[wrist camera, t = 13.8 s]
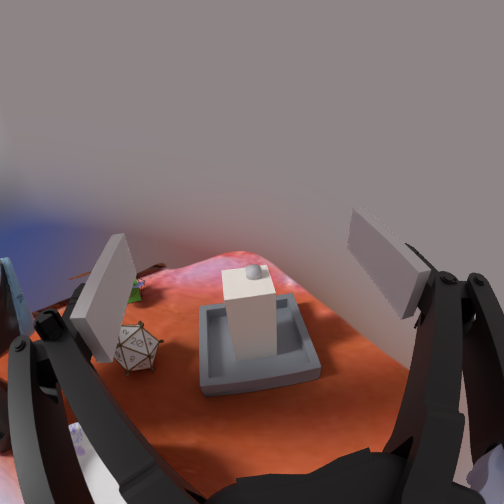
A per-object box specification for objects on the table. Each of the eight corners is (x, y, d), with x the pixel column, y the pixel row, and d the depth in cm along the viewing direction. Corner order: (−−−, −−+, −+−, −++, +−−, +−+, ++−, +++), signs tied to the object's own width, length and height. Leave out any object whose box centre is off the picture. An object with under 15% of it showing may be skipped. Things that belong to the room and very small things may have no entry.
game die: (158, 368, 42) (178, 325, 40) (141, 398, 33) (161, 353, 32) (114, 342, 41) (129, 296, 40) (90, 367, 33) (102, 317, 31)
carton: (235, 361, 37) (223, 293, 31) (232, 332, 43) (220, 264, 36) (276, 355, 38) (275, 286, 31) (269, 326, 43) (266, 258, 36)
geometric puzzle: (118, 278, 55) (104, 266, 48) (146, 273, 56) (136, 259, 49) (121, 310, 53) (107, 301, 45) (151, 305, 54) (140, 296, 47)
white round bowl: (191, 548, 14) (166, 552, 10) (75, 530, 12) (34, 519, 8) (178, 443, 27) (156, 418, 23) (79, 439, 25) (46, 413, 21)
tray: (204, 397, 33) (199, 386, 32) (202, 318, 47) (199, 306, 45) (319, 378, 35) (321, 366, 33) (292, 305, 48) (292, 292, 47)
